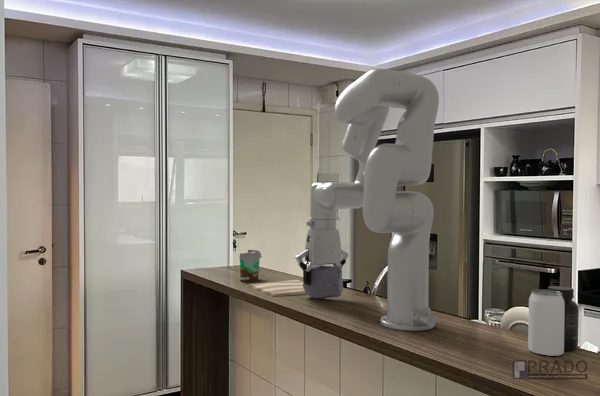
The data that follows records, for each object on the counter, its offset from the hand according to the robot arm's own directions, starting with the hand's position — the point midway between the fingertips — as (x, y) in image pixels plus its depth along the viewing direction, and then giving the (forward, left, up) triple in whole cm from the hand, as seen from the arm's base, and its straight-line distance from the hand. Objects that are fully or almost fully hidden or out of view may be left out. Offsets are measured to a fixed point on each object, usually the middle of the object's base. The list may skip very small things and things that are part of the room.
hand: (321, 283), depth 155 cm
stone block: (-1, 0, -5) cm, 5 cm away
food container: (+39, +5, -5) cm, 40 cm away
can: (-64, -14, -5) cm, 65 cm away
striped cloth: (+17, +3, -5) cm, 18 cm away
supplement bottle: (-62, -21, -5) cm, 65 cm away
